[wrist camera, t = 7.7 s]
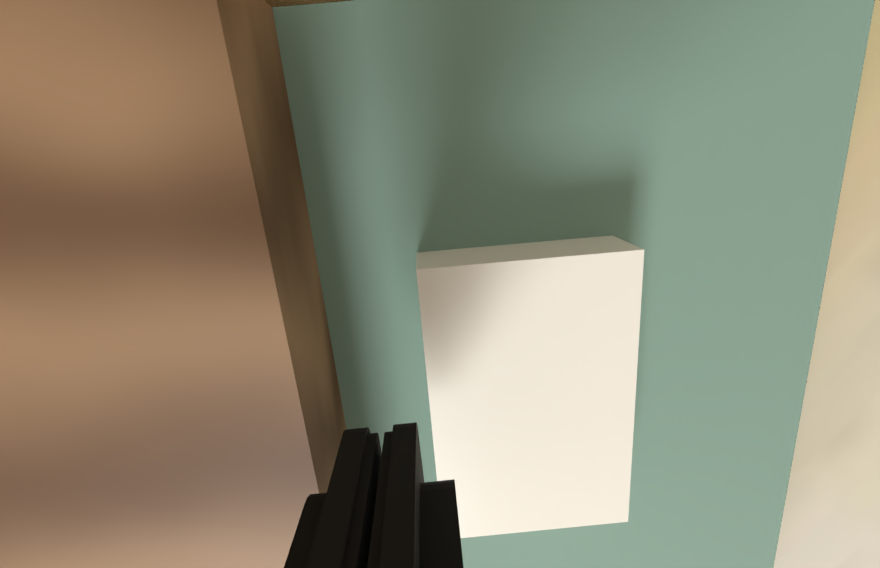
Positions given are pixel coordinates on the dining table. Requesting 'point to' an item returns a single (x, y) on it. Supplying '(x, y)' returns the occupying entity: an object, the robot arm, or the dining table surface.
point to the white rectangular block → (533, 379)
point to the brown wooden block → (155, 290)
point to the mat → (592, 220)
